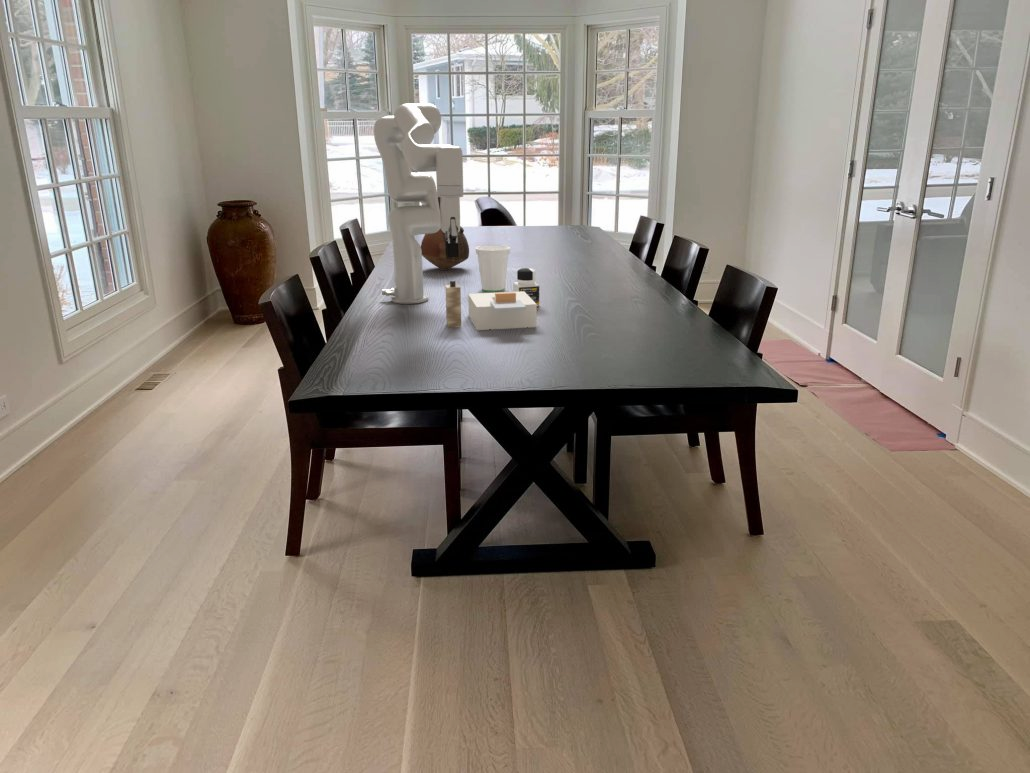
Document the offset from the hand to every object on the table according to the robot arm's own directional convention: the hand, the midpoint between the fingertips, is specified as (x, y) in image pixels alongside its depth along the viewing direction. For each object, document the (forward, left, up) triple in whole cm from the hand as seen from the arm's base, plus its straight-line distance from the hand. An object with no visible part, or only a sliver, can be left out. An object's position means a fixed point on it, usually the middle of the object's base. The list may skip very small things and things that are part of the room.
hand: (452, 255), depth 220 cm
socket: (+15, +2, -21) cm, 26 cm away
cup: (+20, +47, -21) cm, 55 cm away
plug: (0, 0, -21) cm, 21 cm away
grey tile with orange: (+15, -9, -14) cm, 22 cm away
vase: (+7, +89, -21) cm, 92 cm away
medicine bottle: (+27, +22, -21) cm, 41 cm away
